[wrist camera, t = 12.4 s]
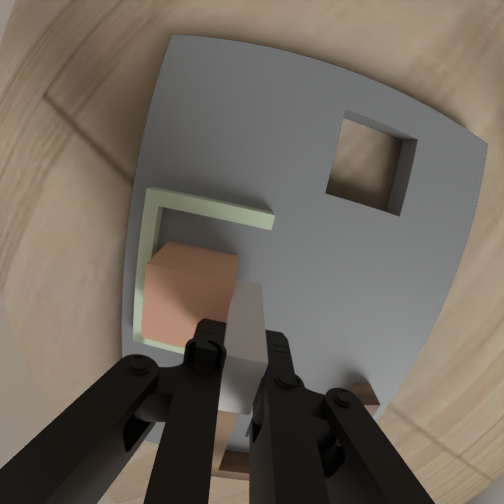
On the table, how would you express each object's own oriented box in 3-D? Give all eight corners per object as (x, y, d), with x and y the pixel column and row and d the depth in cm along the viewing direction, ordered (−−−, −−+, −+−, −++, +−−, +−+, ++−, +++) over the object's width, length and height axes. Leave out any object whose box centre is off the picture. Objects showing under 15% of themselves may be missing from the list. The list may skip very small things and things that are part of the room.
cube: (169, 240, 16) (146, 263, 12) (238, 255, 16) (235, 284, 12) (161, 301, 17) (140, 337, 13) (224, 316, 17) (218, 356, 13)
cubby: (222, 366, 18) (219, 391, 16) (370, 383, 19) (380, 405, 17) (201, 453, 22) (199, 473, 19) (315, 463, 23) (319, 482, 20)
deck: (179, 46, 14) (172, 34, 12) (471, 143, 16) (487, 143, 14) (133, 421, 23) (128, 435, 21) (339, 448, 25) (343, 462, 23)
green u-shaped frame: (152, 187, 15) (146, 188, 14) (273, 212, 16) (275, 215, 15) (137, 332, 18) (132, 340, 17) (236, 355, 18) (236, 365, 17)
